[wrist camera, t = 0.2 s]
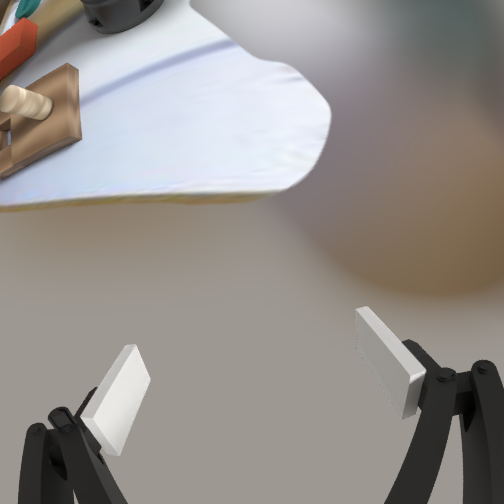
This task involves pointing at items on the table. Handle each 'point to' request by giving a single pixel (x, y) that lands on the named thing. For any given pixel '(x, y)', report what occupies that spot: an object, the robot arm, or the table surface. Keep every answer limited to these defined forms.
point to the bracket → (26, 8)
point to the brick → (17, 45)
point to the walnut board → (39, 118)
